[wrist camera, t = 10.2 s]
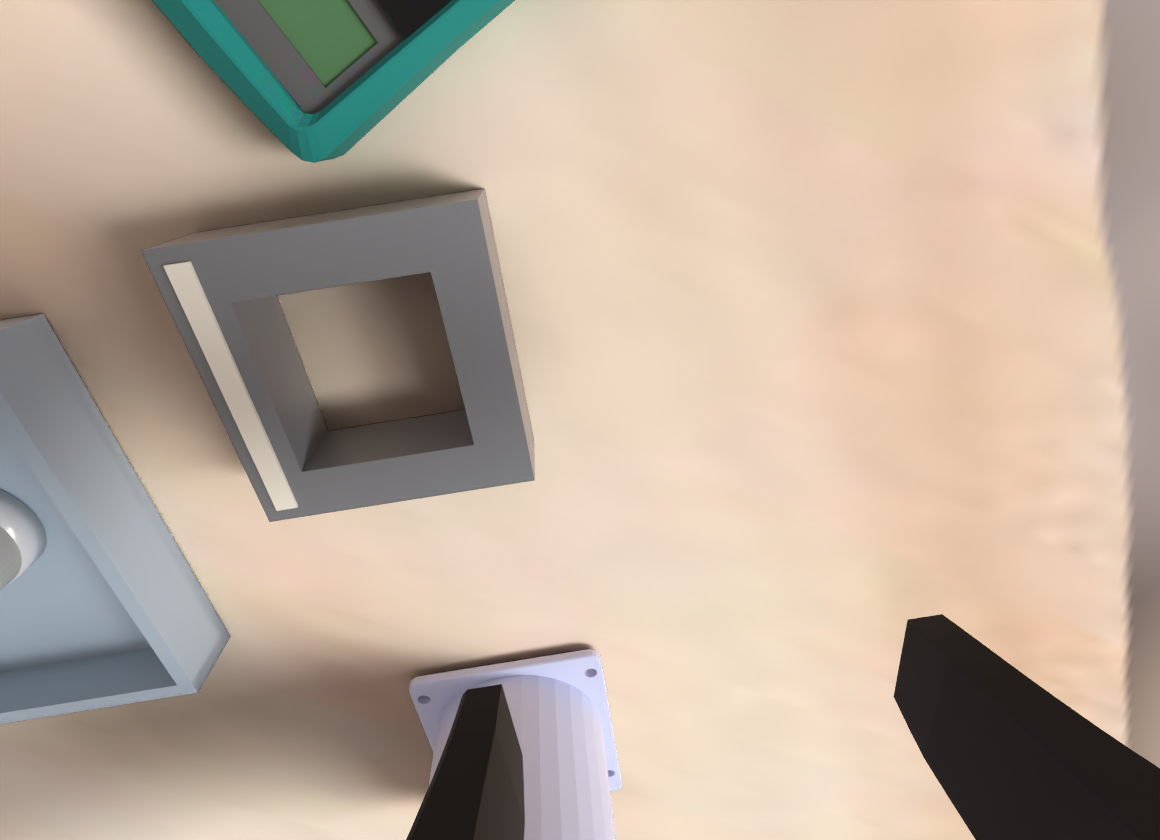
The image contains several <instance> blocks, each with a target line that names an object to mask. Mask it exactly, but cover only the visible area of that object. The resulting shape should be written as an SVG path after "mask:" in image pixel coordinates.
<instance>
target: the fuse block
mask: <svg viewBox="0 0 1160 840" xmlns="http://www.w3.org/2000/svg"><path fill="white" fill-rule="evenodd" d="M141 252H142V254H143V256H144V258H145V261H146V263H147V265H148V267H149V269H150V271H151V273H152V275H153V277H154V279H155V282H156V284H157V286H158V288H159V290H160V292H161V294H162V296H163V298H164V301H165V303H166V305H167V307H168V309H169V311H170V313H171V315H172V317H173V319H174V322H175V324H176V326H177V328H178V330H179V332H180V334H181V336H182V338H183V341H184V343H185V345H186V347H187V349H188V351H189V353H190V355H191V357H192V359H193V362H194V364H195V366H196V368H197V370H198V372H199V374H200V376H201V378H202V381H203V383H204V385H205V387H206V389H207V391H208V393H209V395H210V397H211V400H212V402H213V404H214V406H215V408H216V410H217V412H218V414H219V416H220V418H221V421H222V423H223V425H224V427H225V429H226V431H227V433H228V435H229V437H230V440H231V442H232V444H233V446H234V448H235V450H236V452H237V454H238V456H239V458H240V461H241V463H242V465H243V467H244V469H245V471H246V473H247V475H248V477H249V480H250V482H251V484H252V486H253V488H254V490H255V492H256V494H257V496H258V498H259V501H260V503H261V505H262V507H263V509H264V511H265V513H266V515H267V517H268V520H269V522H272V521H278V520H285V519H291V518H297V517H304V516H310V515H317V514H323V513H329V512H336V511H342V510H348V509H355V508H361V507H368V506H374V505H380V504H387V503H393V502H399V501H406V500H412V499H418V498H425V497H431V496H438V495H444V494H450V493H457V492H463V491H469V490H476V489H482V488H489V487H495V486H501V485H508V484H514V483H520V482H527V481H533V480H535V469H534V437H533V432H532V427H531V422H530V417H529V412H528V407H527V402H526V397H525V392H524V387H523V381H522V376H521V371H520V366H519V361H518V356H517V351H516V346H515V341H514V336H513V330H512V325H511V320H510V315H509V310H508V305H507V300H506V295H505V290H504V285H503V280H502V274H501V269H500V264H499V259H498V254H497V249H496V244H495V239H494V234H493V229H492V224H491V218H490V213H489V208H488V203H487V198H486V193H485V189H479V190H472V191H466V192H459V193H453V194H446V195H439V196H433V197H426V198H420V199H413V200H407V201H400V202H393V203H387V204H380V205H374V206H367V207H361V208H354V209H347V210H341V211H334V212H328V213H321V214H315V215H308V216H301V217H295V218H288V219H282V220H275V221H269V222H262V223H255V224H249V225H242V226H236V227H229V228H223V229H216V230H210V231H203V232H196V233H193V234H190V235H186V236H183V237H180V238H177V239H174V240H171V241H168V242H165V243H162V244H159V245H156V246H153V247H150V248H147V249H144V250H141ZM427 272H431V275H432V279H433V283H434V287H435V291H436V295H437V299H438V303H439V307H440V311H441V315H442V319H443V323H444V327H445V331H446V335H447V339H448V343H449V347H450V351H451V355H452V359H453V363H454V367H455V370H456V374H457V378H458V382H459V386H460V390H461V394H462V398H463V402H464V406H465V410H460V411H454V412H447V413H441V414H434V415H428V416H422V417H415V418H409V419H402V420H396V421H389V422H383V423H377V424H370V425H364V426H357V427H351V428H345V429H338V430H332V431H328V429H327V426H326V423H325V421H324V418H323V416H322V413H321V410H320V408H319V405H318V403H317V400H316V397H315V395H314V392H313V389H312V387H311V384H310V382H309V379H308V376H307V374H306V371H305V369H304V366H303V363H302V361H301V358H300V355H299V353H298V350H297V348H296V345H295V342H294V340H293V337H292V334H291V332H290V329H289V327H288V324H287V321H286V319H285V316H284V314H283V311H282V308H281V306H280V303H279V300H278V298H277V295H284V294H290V293H297V292H304V291H310V290H317V289H323V288H330V287H336V286H343V285H349V284H356V283H362V282H369V281H375V280H382V279H388V278H395V277H401V276H408V275H414V274H421V273H427Z"/></svg>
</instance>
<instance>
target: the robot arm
mask: <svg viewBox="0 0 1160 840" xmlns="http://www.w3.org/2000/svg"><path fill="white" fill-rule="evenodd" d="M409 694H410V696H411V699H412V701H413V704H414V706H415V708H416V711H417V713H418V716H419V718H420V721H421V723H422V726H423V728H424V731H425V733H426V736H427V738H428V741H429V743H430V746H431V748H432V750H433V760H432V766H431V773H430V780H429V786H428V790H427V793H426V795H425V797H424V800H423V802H422V804H421V807H420V809H419V811H418V814H417V816H416V819H415V821H414V823H413V826H412V828H411V830H410V832H409V835H408V837H407V839H406V840H616V834H615V826H614V818H613V809H612V801H611V793H610V792H613V791H616V790H618V789H619V788H620V787H621V785H622V782H621V775H620V770H619V764H618V758H617V752H616V746H615V740H614V734H613V728H612V722H611V716H610V710H609V704H608V699H607V693H606V687H605V681H604V675H603V669H602V663H601V657H600V654H599V653H598V652H597V651H595V650H592V649H587V650H580V651H574V652H568V653H562V654H555V655H549V656H543V657H537V658H530V659H524V660H518V661H511V662H505V663H499V664H493V665H486V666H480V667H474V668H468V669H461V670H455V671H449V672H443V673H436V674H430V675H424V676H419V677H415V678H414V679H412V680H411V682H410V686H409ZM894 698H895V700H896V702H897V704H898V706H899V708H900V710H901V713H902V715H903V717H904V719H905V721H906V723H907V725H908V727H909V729H910V731H911V733H912V735H913V737H914V739H915V741H916V743H917V745H918V747H919V749H920V751H921V753H922V755H923V757H924V758H925V760H926V762H927V763H928V765H929V766H930V768H931V770H932V771H933V773H934V775H935V776H936V778H937V779H938V781H939V783H940V784H941V786H942V787H943V789H944V790H945V792H946V794H947V795H948V797H949V798H950V800H951V802H952V803H953V805H954V806H955V808H956V809H957V811H958V813H959V814H960V816H961V817H962V819H963V820H964V822H965V824H966V825H967V827H968V828H969V830H970V831H971V833H972V835H973V836H974V838H975V839H976V840H1160V768H1158V767H1157V766H1155V765H1154V764H1152V763H1151V762H1149V761H1148V760H1146V759H1144V758H1143V757H1141V756H1140V755H1138V754H1137V753H1135V752H1134V751H1132V750H1131V749H1129V748H1128V747H1126V746H1125V745H1123V744H1122V743H1120V742H1119V741H1117V740H1116V739H1114V738H1113V737H1112V736H1110V735H1109V734H1107V733H1106V732H1104V731H1103V730H1101V729H1100V728H1098V727H1097V726H1095V725H1094V724H1093V723H1091V722H1090V721H1088V720H1087V719H1085V718H1084V717H1083V716H1081V715H1080V714H1078V713H1077V712H1075V711H1074V710H1073V709H1071V708H1070V707H1068V706H1067V705H1065V704H1064V703H1063V702H1061V701H1060V700H1058V699H1057V698H1056V697H1054V696H1053V695H1051V694H1050V693H1049V692H1047V691H1046V690H1044V689H1043V688H1042V687H1040V686H1039V685H1037V684H1036V683H1035V682H1033V681H1032V680H1031V679H1029V678H1028V677H1026V676H1025V675H1024V674H1022V673H1021V672H1020V671H1018V670H1017V669H1016V668H1014V667H1013V666H1011V665H1010V664H1009V663H1007V662H1006V661H1005V660H1003V659H1002V658H1001V657H999V656H998V655H997V654H995V653H994V652H992V651H991V650H990V649H988V648H987V647H986V646H984V645H983V644H982V643H980V642H979V641H978V640H976V639H975V638H974V637H972V636H971V635H970V634H968V633H967V632H965V631H964V630H963V629H961V628H960V627H959V626H957V625H956V624H955V623H953V622H952V621H950V620H949V619H948V618H946V617H945V616H944V615H942V614H941V615H935V616H929V617H922V618H916V619H910V620H908V621H907V627H906V632H905V638H904V643H903V649H902V654H901V660H900V665H899V671H898V676H897V682H896V687H895V693H894Z"/></svg>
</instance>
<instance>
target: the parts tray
mask: <svg viewBox="0 0 1160 840" xmlns="http://www.w3.org/2000/svg"><path fill="white" fill-rule="evenodd" d="M0 490H2V491H4V492H6V493H8V494H10V495H12V496H14V497H15V498H17V499H18V500H20V501H21V502H23V503H24V504H25V505H26V506H28V507H29V508H30V509H31V510H32V511H33V512H34V513H35V515H36V516H37V517H38V518H39V520H40V521H41V523H42V525H43V527H44V529H45V533H46V538H47V541H46V547H45V550H44V552H43V554H42V555H41V556H40V557H39V558H38V559H37V560H36V561H35V562H34V563H33V564H32V565H31V566H29V567H28V568H27V569H26V570H25V571H24V572H23V573H22V574H21V575H20V576H19V577H18V578H17V579H15V580H14V581H13V582H11V583H10V584H8V585H6V586H5V587H4V588H3V589H2V590H1V591H0V724H4V723H11V722H17V721H23V720H29V719H36V718H42V717H48V716H54V715H61V714H67V713H73V712H80V711H86V710H92V709H98V708H105V707H111V706H117V705H123V704H130V703H136V702H142V701H149V700H155V699H161V698H167V697H174V696H180V695H186V694H192V693H198V692H199V690H200V688H201V686H202V685H203V683H204V681H205V680H206V678H207V676H208V674H209V673H210V671H211V669H212V667H213V666H214V664H215V662H216V661H217V659H218V657H219V655H220V654H221V652H222V650H223V649H224V647H225V645H226V643H227V642H228V640H229V638H230V635H229V633H228V631H227V630H226V628H225V626H224V624H223V623H222V621H221V619H220V618H219V616H218V614H217V612H216V611H215V609H214V607H213V605H212V604H211V602H210V600H209V599H208V597H207V595H206V593H205V592H204V590H203V588H202V586H201V585H200V583H199V581H198V580H197V578H196V576H195V574H194V573H193V571H192V569H191V567H190V566H189V564H188V562H187V561H186V559H185V557H184V555H183V554H182V552H181V550H180V549H179V547H178V545H177V543H176V542H175V540H174V538H173V536H172V535H171V533H170V531H169V530H168V528H167V526H166V524H165V523H164V521H163V519H162V517H161V516H160V514H159V512H158V511H157V509H156V507H155V505H154V504H153V502H152V500H151V498H150V497H149V495H148V493H147V492H146V490H145V488H144V486H143V485H142V483H141V481H140V480H139V478H138V476H137V474H136V473H135V471H134V469H133V467H132V466H131V464H130V462H129V461H128V459H127V457H126V455H125V454H124V452H123V450H122V448H121V447H120V445H119V443H118V442H117V440H116V438H115V436H114V435H113V433H112V431H111V430H110V428H109V426H108V424H107V423H106V421H105V419H104V417H103V416H102V414H101V412H100V411H99V409H98V407H97V405H96V404H95V402H94V400H93V398H92V397H91V395H90V393H89V392H88V390H87V388H86V386H85V385H84V383H83V381H82V379H81V378H80V376H79V374H78V373H77V371H76V369H75V367H74V366H73V364H72V362H71V361H70V359H69V357H68V355H67V354H66V352H65V350H64V348H63V347H62V345H61V343H60V342H59V340H58V338H57V336H56V335H55V333H54V331H53V329H52V328H51V326H50V324H49V323H48V321H47V319H46V317H45V316H44V314H36V315H30V316H23V317H17V318H10V319H4V320H0Z"/></svg>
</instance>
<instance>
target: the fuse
mask: <svg viewBox="0 0 1160 840" xmlns="http://www.w3.org/2000/svg"><path fill="white" fill-rule="evenodd" d="M46 541H47V538H46V533H45V529H44V527H43V525H42V523H41V521H40V520H39V518H38V517H37V516H36V515H35V513H34V512H33V511H32V510H31V509H30V508H29V507H28V506H26V505H25V504H24V503H23V502H21V501H20V500H18V499H17V498H15V497H14V496H12V495H10V494H8V493H6V492H4V491H2V490H0V591H1V590H2V589H3V588H4V587H5V586H6V585H8V584H10V583H11V582H13V581H14V580H15V579H17V578H18V577H19V576H20V575H21V574H22V573H23V572H24V571H25V570H26V569H27V568H28V567H29V566H31V565H32V564H33V563H34V562H35V561H36V560H37V559H38V558H39V557H40V556H41V555H42V554H43V552H44V550H45V547H46Z"/></svg>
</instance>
